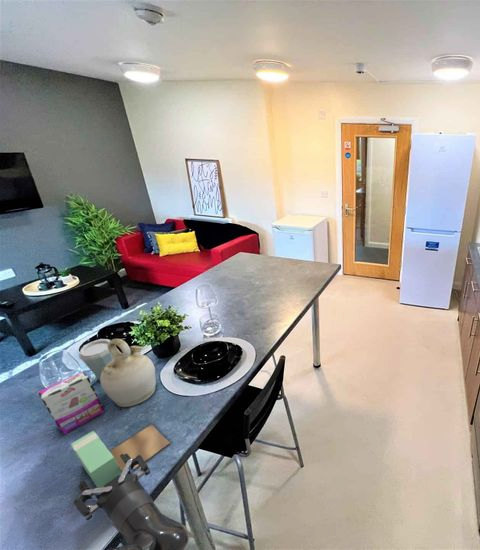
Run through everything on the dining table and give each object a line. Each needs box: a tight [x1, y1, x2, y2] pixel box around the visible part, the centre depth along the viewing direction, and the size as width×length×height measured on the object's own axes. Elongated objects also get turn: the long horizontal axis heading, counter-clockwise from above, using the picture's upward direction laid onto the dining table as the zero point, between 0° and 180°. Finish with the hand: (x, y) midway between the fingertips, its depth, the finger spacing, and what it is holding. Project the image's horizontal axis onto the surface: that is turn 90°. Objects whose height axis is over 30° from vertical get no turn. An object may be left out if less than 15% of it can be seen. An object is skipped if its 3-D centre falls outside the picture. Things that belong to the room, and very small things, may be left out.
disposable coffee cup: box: [78, 338, 115, 381], centre depth 113 cm, size 11×11×15 cm
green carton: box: [70, 430, 122, 488], centre depth 81 cm, size 5×14×10 cm, turn 58°
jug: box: [99, 338, 157, 408], centre depth 104 cm, size 15×16×25 cm
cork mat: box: [109, 424, 171, 472], centre depth 90 cm, size 12×12×1 cm
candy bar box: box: [37, 370, 106, 436], centre depth 95 cm, size 11×5×16 cm, turn 147°
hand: (103, 469), depth 78 cm, fingers open, 8 cm apart
